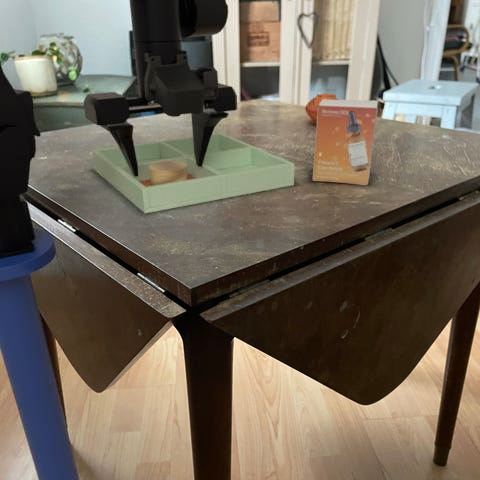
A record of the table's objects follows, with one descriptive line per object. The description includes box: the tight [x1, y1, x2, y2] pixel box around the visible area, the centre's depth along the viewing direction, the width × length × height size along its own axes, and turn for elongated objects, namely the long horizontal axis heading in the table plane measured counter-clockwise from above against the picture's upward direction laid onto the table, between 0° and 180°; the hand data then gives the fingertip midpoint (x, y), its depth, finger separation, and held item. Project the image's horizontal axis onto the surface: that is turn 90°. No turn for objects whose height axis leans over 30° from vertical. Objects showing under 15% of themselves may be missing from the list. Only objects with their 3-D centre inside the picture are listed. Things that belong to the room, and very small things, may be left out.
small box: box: [312, 99, 379, 186], centre depth 76 cm, size 8×6×10 cm
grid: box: [91, 132, 296, 214], centre depth 80 cm, size 22×22×3 cm
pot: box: [304, 93, 339, 125], centre depth 108 cm, size 8×8×7 cm
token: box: [149, 161, 188, 186], centre depth 73 cm, size 5×5×3 cm
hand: (168, 170), depth 73 cm, fingers open, 9 cm apart
